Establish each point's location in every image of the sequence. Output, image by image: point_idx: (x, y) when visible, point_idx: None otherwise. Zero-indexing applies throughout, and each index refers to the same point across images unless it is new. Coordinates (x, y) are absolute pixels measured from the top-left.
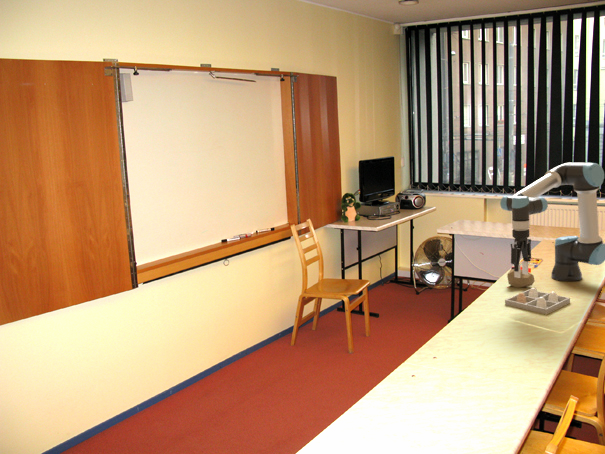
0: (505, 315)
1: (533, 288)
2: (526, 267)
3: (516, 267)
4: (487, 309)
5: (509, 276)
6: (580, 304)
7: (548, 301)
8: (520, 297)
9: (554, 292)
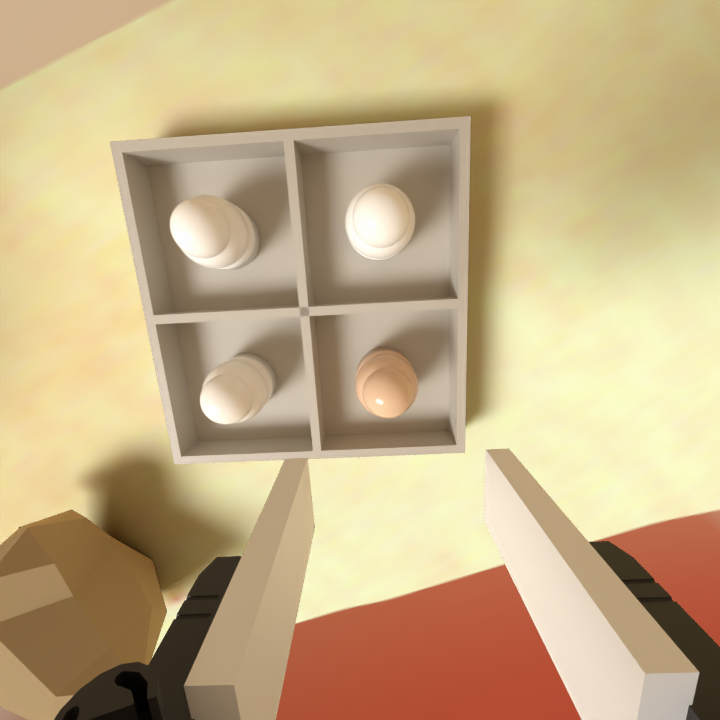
0: (609, 332)
1: (225, 399)
2: (282, 556)
3: (695, 635)
4: (575, 464)
5: (144, 658)
6: (96, 96)
7: (298, 216)
8: (413, 381)
9: (186, 211)
